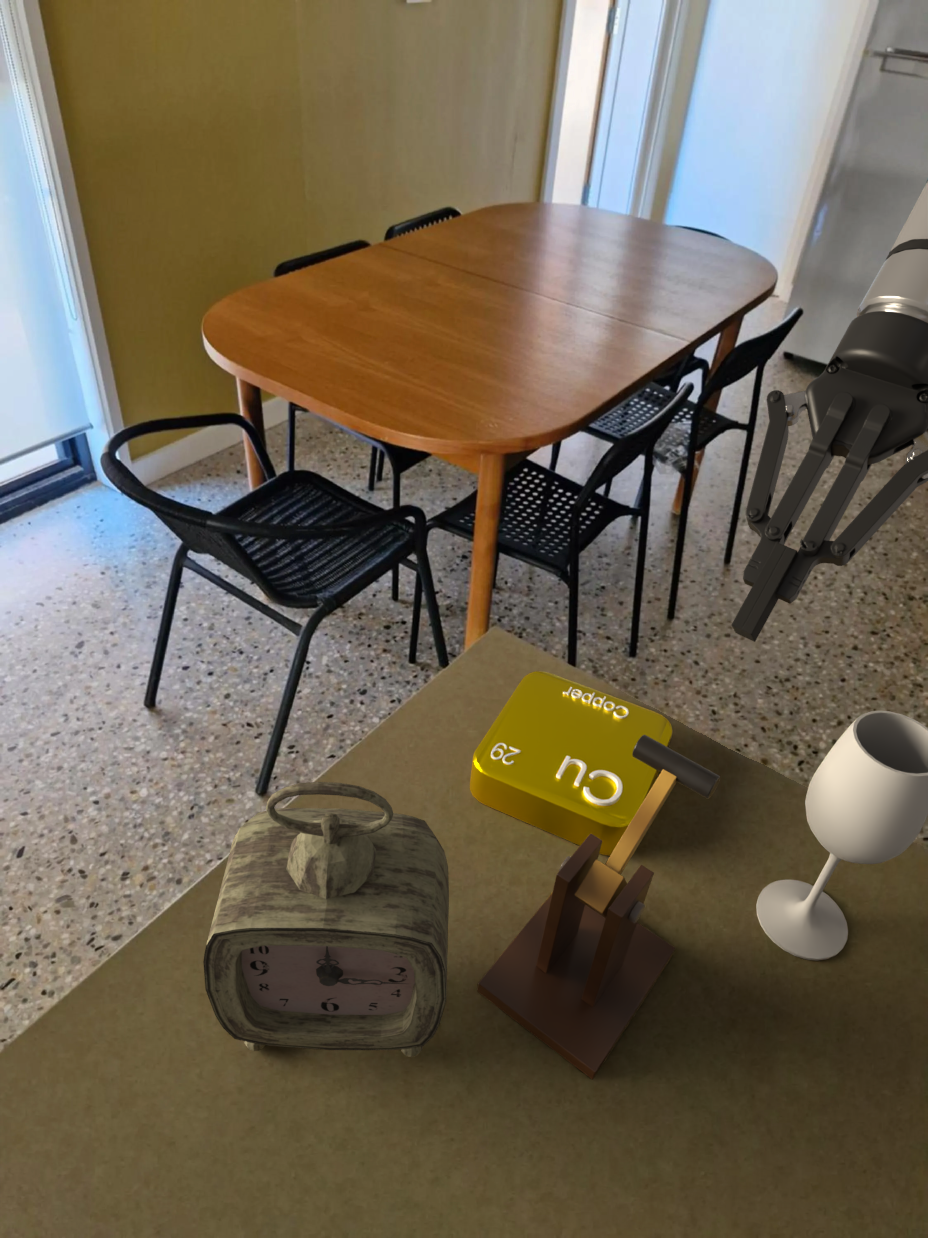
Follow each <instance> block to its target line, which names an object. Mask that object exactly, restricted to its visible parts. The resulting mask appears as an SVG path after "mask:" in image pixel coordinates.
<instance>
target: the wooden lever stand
mask: <svg viewBox="0 0 928 1238" xmlns="http://www.w3.org/2000/svg"><path fill="white" fill-rule="evenodd" d="M601 845H602V840H601V839H599V838H598V837H596V836H594V835H593V834H590V835H589V836H588V837H587V838H586V839H585V841H584V842H583V843H582V844H581V845H580V846H578V848H577V849H576V850H575V851H574V853H573V854H572V855H568V856H566V857H565V858H564V860H563V861H562V862H561V865H560V866H559V869H558V872H557V873H556V876H555V879H554V885H553V889H552V892H551V894H549V895H548V897H547V898H546V900H545V901H544V902H543V903H542V904H541V905H540V907H539V908H538V909H537V910H536V912H535V913H534V914H533V915H532V917H531V918H530V919H529V920H528V921H527V923H526V924H525V925H524V926H523V928H522V929H521V930H520V931H519V933H518V934H517V935H516V936H515V937H514V939H512V941H510V942H511V943H510V944H508V946H507V947H506V949H504V951H503V952H502V953H501V955H500V956H499V957H497V959H496V960H495V962H494V963H493V965H492V966H491V967H490V968H489V969H488V971H486V973H485V974H484V975H483V977H482V978H481V979H480V980H479V982H478V983H477V988H476V989H477V990H476V992H477V993H479V994H480V995H481V996H483V997H484V998H485V999H486V1000H487V1001H489V1002H491V1004H493V1005H494V1006H495V1007H496V1008H498V1009H500V1010H501V1011H502V1012H503V1013H505V1014H506V1015H507V1016H509V1018H512V1020H514V1021H515V1022H516V1023H518V1024H519V1025H520V1026H521V1027H522V1028H524V1029H526V1030H527V1031H528V1032H530V1033H531V1034H532V1035H533V1036H535V1037H536V1038H537V1039H539V1040H540V1041H541V1042H542V1043H544V1044H545V1045H546V1046H548V1047H549V1048H550V1049H551V1050H553V1051H554V1052H555V1053H557V1054H558V1055H559V1056H561V1057H562V1058H563V1059H565V1060H566V1061H567V1062H569V1064H571V1065H572V1066H573V1067H575V1068H576V1069H578V1070H579V1071H580V1072H581V1073H583V1074H584V1075H586V1076H587V1077H588V1078H589V1079H591V1080H594V1079H595V1077H596V1076H597V1074H598V1073H599V1071H600V1069H602V1066H603V1065H604V1063H605V1062H606V1060H607V1059H608V1057H609V1055H610V1054H611V1052H612V1051H613V1049H614V1047H615V1046H616V1044H617V1043H618V1041H619V1040H620V1039H621V1037H622V1035H623V1033H624V1032H625V1030H626V1029H627V1027H628V1026H629V1025H630V1023H631V1021H632V1019H633V1018H634V1017H635V1015H636V1013H637V1012H638V1010H639V1009H640V1007H641V1006H642V1004H643V1003H644V1001H645V1000H646V998H647V996H648V995H649V993H650V992H651V990H652V989H653V987H654V985H655V984H656V983H657V981H658V979H659V978H660V976H661V975H662V973H663V971H664V970H665V968H666V967H667V966H668V963H669V962H670V961H671V959H672V957H673V956H674V953H675V951H676V947H675V946H673V945H672V944H671V943H669V942H668V941H666V940H665V939H663V938H661V937H660V936H659V935H657V934H655V933H654V932H652V931H651V930H649V929H648V928H647V927H644V926H643V925H642V924H640V923H638V921H639V920H640V918H641V917H642V915H643V913H644V910H645V908H646V904H645V901H646V897H647V895H648V892H649V889H650V886H651V883H652V882H653V877H654V875H655V872H654V871H652V870H650V869H649V868H648V867H646V866H644V865H643V864H641V865H640V866H639V867H638V868H637V870H636V871H635V873H634V874H633V875H632V877H631V878H630V879H629V880H628V882H627V885H626V886H625V887H624V889H623V890H622V891H621V893H620V894H619V895H618V897H617V898H616V899H615V901H614V902H613V903H612V905H611V906H610V907H609V909H608V912H607V916H606V918H604V917H603V916H601V915H600V914H598V913H597V912H595V911H594V910H592V909H591V908H589V907H588V906H586V905H585V904H583V903H582V902H580V901H579V900H578V899H577V897H576V896H575V893H576V891H577V890H578V888H579V886H580V885H581V883H582V881H583V880H584V878H585V876H586V875H587V873H588V872H589V870H590V868H591V867H592V865H593V863H594V862H595V860H596V859H597V860H599V855H600V854H599V852H600V848H601Z"/></svg>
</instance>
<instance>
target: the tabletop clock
mask: <svg viewBox="0 0 928 1238" xmlns="http://www.w3.org/2000/svg"><path fill="white" fill-rule="evenodd" d="M310 795H321V796H322V795H323V796H339V797H347V798H353V799H354V798H355V799H356V798H357V799H359V800H363V801H366V802H368V803H371V804H373V805H375V806H377V807H378V808H380V810H382V811H374V810H364V809H351V808H324V807H323V808H321V807H320V808H319V807H280V808H275V807H276V805H277V804H279V802H281V801H283V800H285V799H288V798H292V797H293V798H294V797H297V796H310ZM225 865H226V866H225V870H224V874H223V878H222V882H221V885H220V889H219V894H218V897H217V902H216V906H215V910H214V914H213V917H212V920H211V925H210V929H209V932H208V937H207V941H206V945H205V949H204V953H203V974H204V988H205V992H206V994H207V996H208V1000H209V1002H210V1005H211V1008H212V1011H213V1013H214V1016H215V1017H216V1020H217V1021H218V1022H219V1024H220V1025H221V1028H222V1029H223V1030H224V1031H225V1032H227V1033H228V1034H229V1035H230V1036H231V1038H233V1039H234V1040H238V1041H241V1042H243V1043H244V1045H245V1047H247V1049H248V1050H250V1051H253V1052H257V1051H261V1049H263V1048H265V1046H269V1047H270V1046H271V1047H281V1048H293V1049H308V1050H310V1049H311V1050H321V1051H401V1053H402V1054H403V1055H404V1056H406V1057H409V1058H413V1057H418V1055H419V1054H420V1053H421V1052H422V1051H423V1048H424V1047H425V1046H426V1044H428V1043H429V1042H430V1041H431V1040H432V1039H433V1038H434V1036H435V1035H436V1033H437V1031H438V1030H439V1027H440V1025H441V1022H442V1018H443V1015H444V1014H443V1013H444V1011H445V1006H446V1004H447V997H448V995H447V994H448V993H447V992H448V952H449V951H448V950H449V949H448V947H449V913H450V912H449V911H450V910H449V908H450V907H449V905H450V904H449V903H450V887H449V865H448V860H447V857H446V852H445V850H444V848H443V846H442V844H441V843H440V841H439V840H438V837H437V835H435V833H434V832H433V830H432V828H431V827H430V826H429V824H428V823H427V821H426V820H425V819H421V818H418V817H415V816H412V815H407V814H405V813H404V814H403V813H395V812H394V810H393V807H392V805H390V803H389V801H388V800H387V799H386V798H384V797H383V796H382V795H380V794H378V793H377V791H374V790H371V789H368V788H366V787H364V786H360V785H356V784H349V783H343V782H334V781H333V782H330V781H310V782H309V781H307V782H299V783H295V784H290V785H288V786H284V787H283V788H280V789H279V790H277V791H276V792H274V793H272V794H271V795H270V797H269V798H268V800H267V801H266V806H265V810H263V811H260V812H258V813H256V814H255V815H254V816H253V817H251V818H250V819H249V820H248V821H246V822H245V823H244V824H243V825H241V826H240V827H239V828H238V831H237V832H236V834H235V835H234V837H233V839H232V843H231V846H230V850H229V853H228V858H227V862H226V864H225Z"/></svg>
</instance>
